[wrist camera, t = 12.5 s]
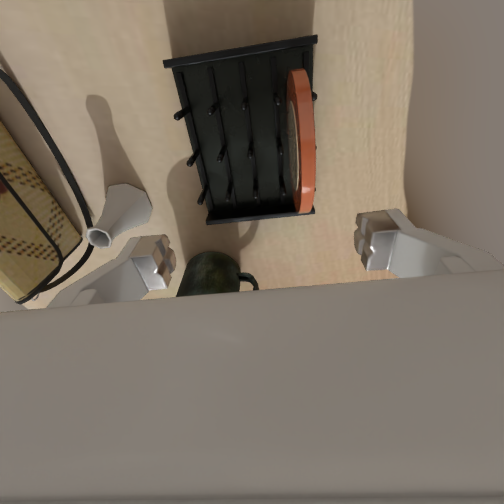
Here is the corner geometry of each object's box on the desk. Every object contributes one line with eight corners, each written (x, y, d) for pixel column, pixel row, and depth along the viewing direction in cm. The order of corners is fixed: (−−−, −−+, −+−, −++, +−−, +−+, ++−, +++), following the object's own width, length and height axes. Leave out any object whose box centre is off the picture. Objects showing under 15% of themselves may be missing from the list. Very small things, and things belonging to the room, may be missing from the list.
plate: (283, 75, 31) (297, 60, 18) (294, 74, 30) (316, 57, 18) (290, 191, 38) (303, 235, 25) (299, 190, 37) (316, 234, 25)
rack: (172, 60, 30) (152, 60, 25) (311, 37, 29) (324, 31, 23) (210, 212, 42) (202, 236, 36) (310, 201, 41) (319, 225, 35)
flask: (151, 186, 40) (123, 218, 32) (154, 226, 44) (130, 264, 36) (102, 178, 39) (61, 209, 31) (110, 220, 43) (76, 256, 35)
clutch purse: (114, 241, 46) (63, 306, 34) (79, 247, 47) (16, 312, 35) (-19, 21, 29) (-222, -7, 17) (-71, 37, 30) (-300, 20, 17)
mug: (174, 256, 47) (152, 306, 38) (249, 236, 45) (247, 285, 35) (198, 296, 54) (185, 348, 44) (266, 281, 51) (268, 333, 41)
